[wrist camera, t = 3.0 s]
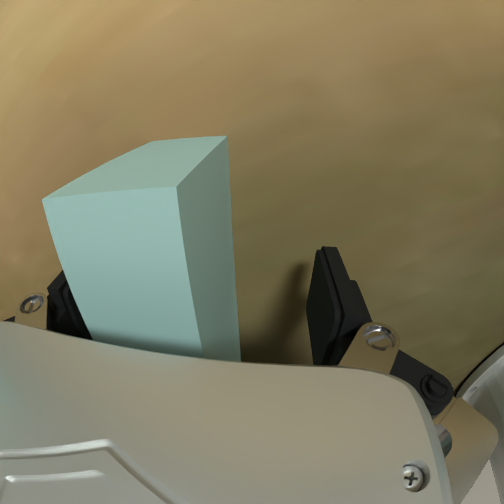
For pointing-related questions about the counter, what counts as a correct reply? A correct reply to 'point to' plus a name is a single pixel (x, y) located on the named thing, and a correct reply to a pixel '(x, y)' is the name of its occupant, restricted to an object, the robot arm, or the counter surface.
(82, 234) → the block
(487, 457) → the robot arm
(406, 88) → the counter surface
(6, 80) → the counter surface
